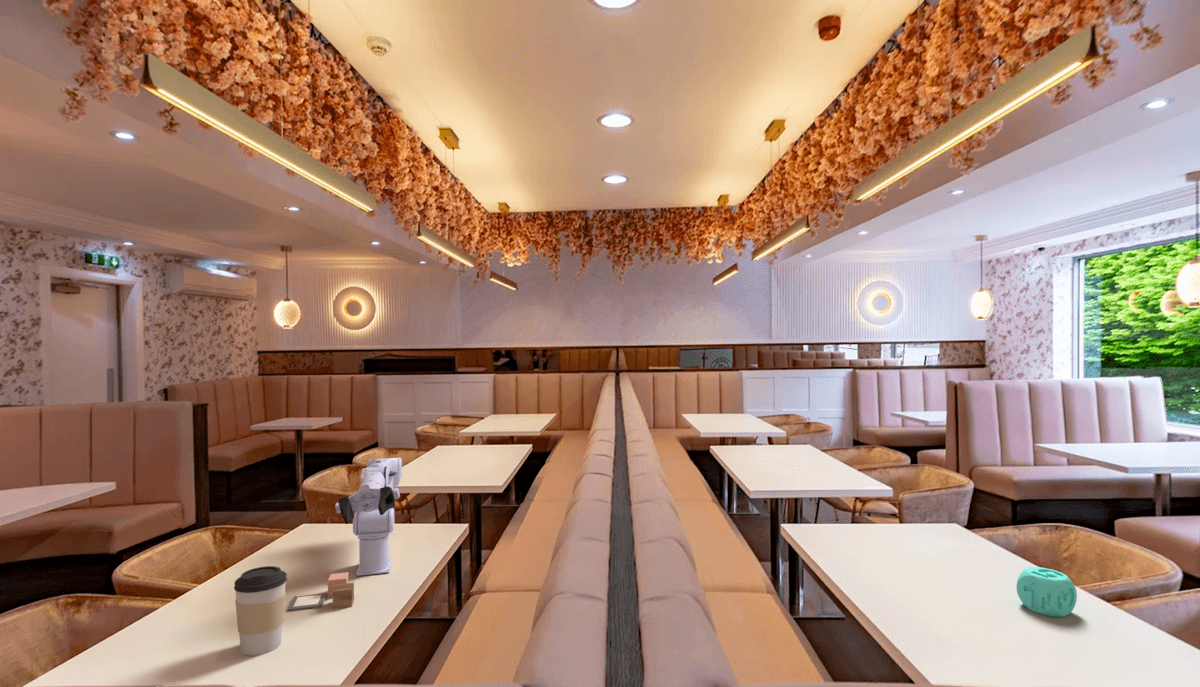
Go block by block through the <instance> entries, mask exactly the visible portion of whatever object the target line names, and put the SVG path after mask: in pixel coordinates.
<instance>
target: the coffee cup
mask: <svg viewBox="0 0 1200 687" xmlns="http://www.w3.org/2000/svg"><path fill="white" fill-rule="evenodd" d="M287 580H288V577H287V573H286V572H285V571H283V570H282V569H281V568H280V567H279V566H275V565H274V566H272V565H270V566H269V565H267V566H259V567H254V568H252V569H248V570H246V571H244V572H243V573H241V575H240V576H239V577H238V578H236V579H235V581H234V582H233V583H234V586H233V589H234V591H235V601H234V602H235V613H236V623H237V624H236V625H237V632H238V635H239V645H240V646H239V647H240V653H241V654H242V655H243V656H253V657H254V656H260V655H264V654H267V653H271V652H272V651H275V650H277V648H279V647H280V646H281V645H282V644H281V643H282V637H283V636H282V635H283V634H282V633H283V624H284V620H285V605H286V604H285V603H286V593H287V592H286V583H287Z"/></svg>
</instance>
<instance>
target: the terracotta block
mask: <svg viewBox="0 0 1200 687" xmlns="http://www.w3.org/2000/svg"><path fill="white" fill-rule="evenodd" d="M345 583H349V572H348V571H347V572H338V573H337V572H336V573H330V574H329V576H328V580H327V597H328V598H331V597H332V598H333V589H334V587H335V584H345Z"/></svg>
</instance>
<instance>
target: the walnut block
mask: <svg viewBox="0 0 1200 687" xmlns="http://www.w3.org/2000/svg"><path fill="white" fill-rule="evenodd" d="M354 601H355V583H354V582H348V583H345V584H335V587H334V589H333V597H332V609H333V610H335V609H345V608H352V607H353V604H354Z"/></svg>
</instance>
